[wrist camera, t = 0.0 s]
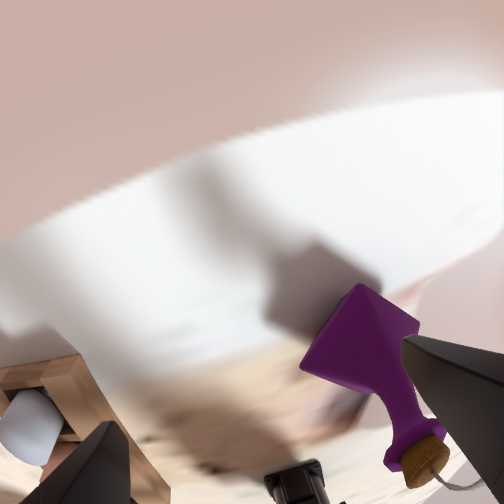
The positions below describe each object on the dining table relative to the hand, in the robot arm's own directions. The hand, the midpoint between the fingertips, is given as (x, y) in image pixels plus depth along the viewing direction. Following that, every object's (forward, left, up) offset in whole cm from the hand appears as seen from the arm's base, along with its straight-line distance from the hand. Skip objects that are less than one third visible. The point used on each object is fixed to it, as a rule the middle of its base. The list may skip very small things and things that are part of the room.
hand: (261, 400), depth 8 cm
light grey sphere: (-8, +20, -12) cm, 25 cm away
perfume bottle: (-8, -8, -15) cm, 19 cm away
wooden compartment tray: (-14, +20, -15) cm, 29 cm away
